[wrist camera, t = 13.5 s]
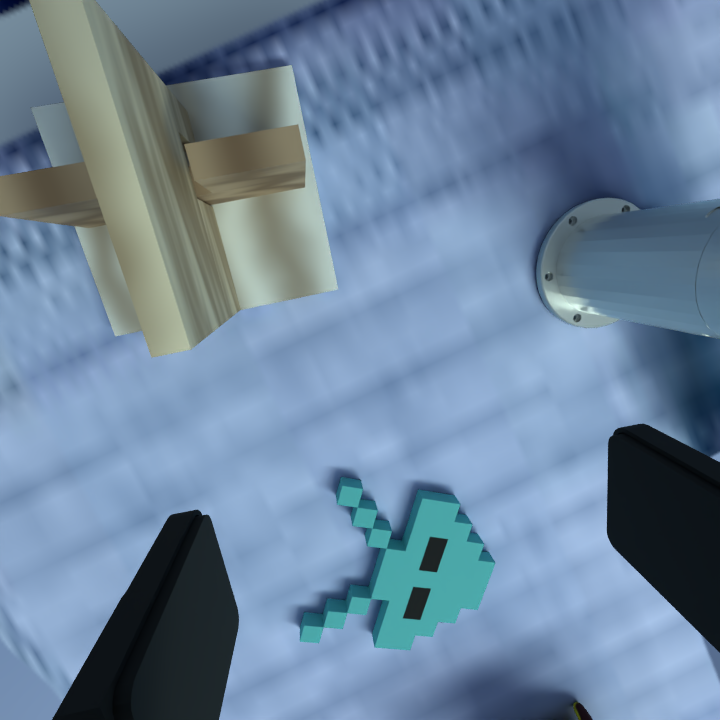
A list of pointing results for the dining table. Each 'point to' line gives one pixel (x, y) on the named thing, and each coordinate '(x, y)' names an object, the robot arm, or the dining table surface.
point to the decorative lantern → (581, 712)
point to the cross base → (245, 227)
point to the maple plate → (140, 176)
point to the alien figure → (410, 570)
